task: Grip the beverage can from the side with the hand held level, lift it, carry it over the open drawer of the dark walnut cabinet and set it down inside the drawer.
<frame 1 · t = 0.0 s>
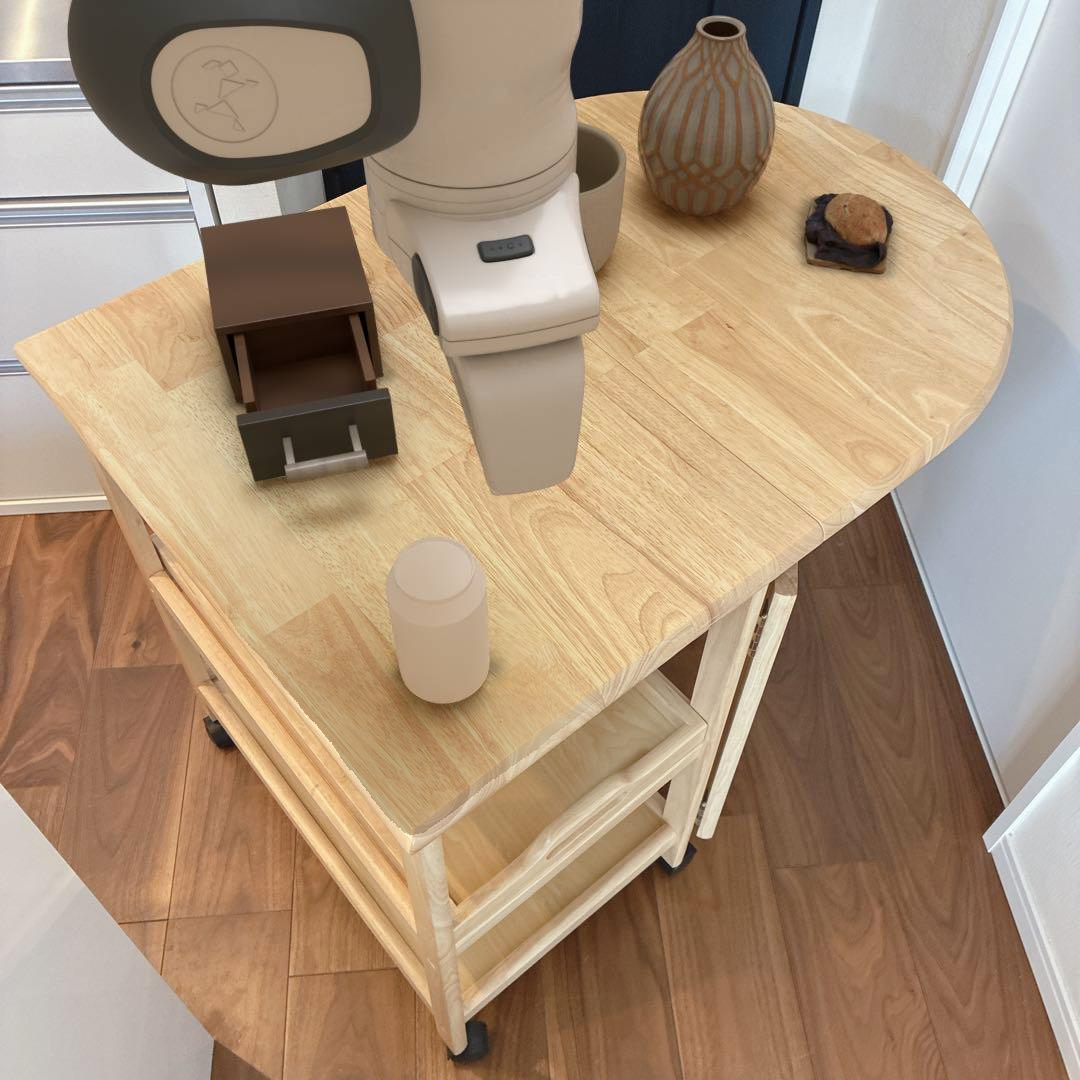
hand: (482, 418, 56), 23 cm above the table, tool pointing down, fingers open, 8 cm apart
planter: (553, 261, 102), on the table
bread roll: (845, 238, 104), on the table
drawer: (313, 403, 83), point 4 cm above the table, slide at 9.0 cm
beverage can: (445, 672, 73), on the table
cabinet: (299, 338, 94), on the table
vase: (696, 199, 108), on the table
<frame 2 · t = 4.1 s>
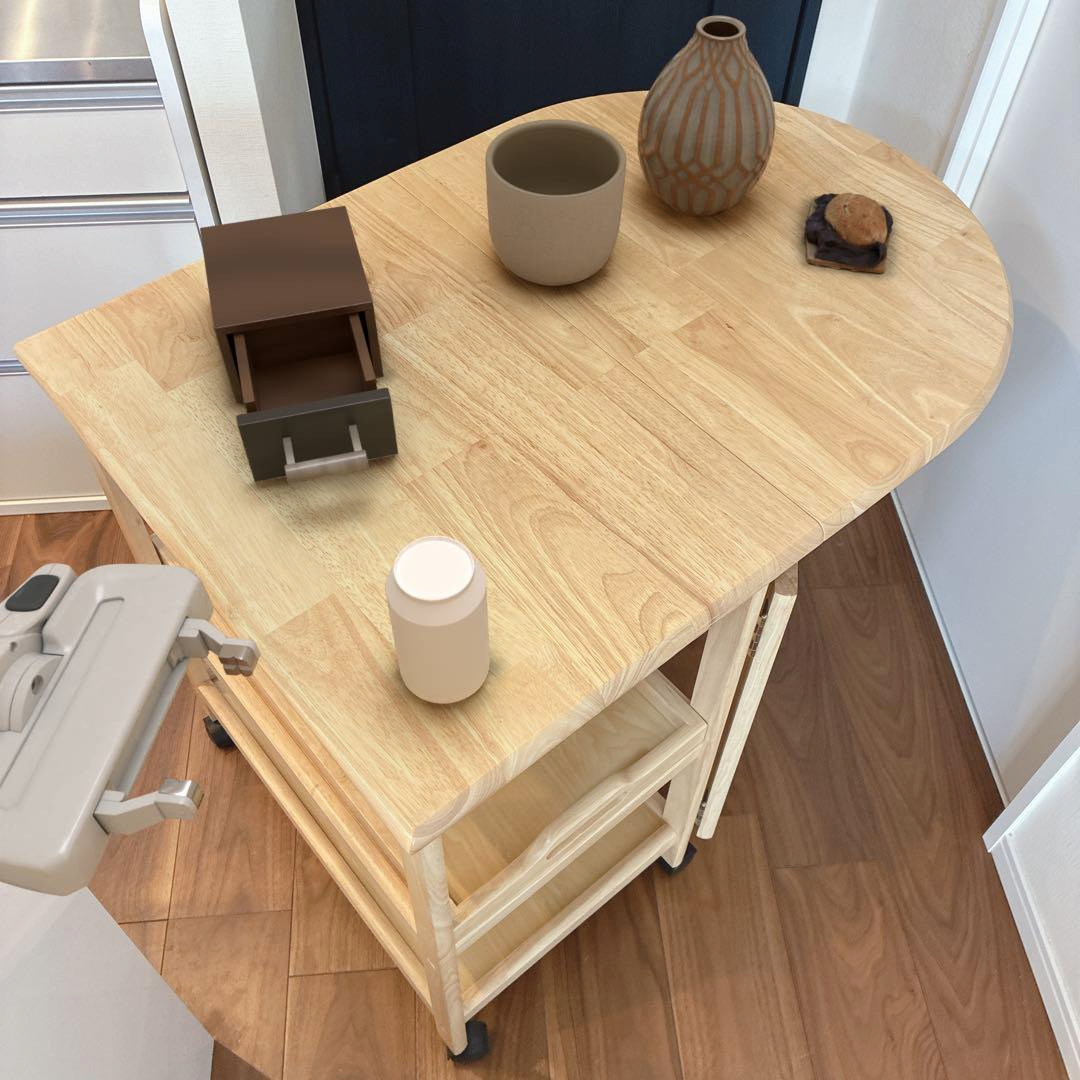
hand: (227, 725, 59), 10 cm above the table, tool horizontal, fingers open, 8 cm apart
nothing on the table moved.
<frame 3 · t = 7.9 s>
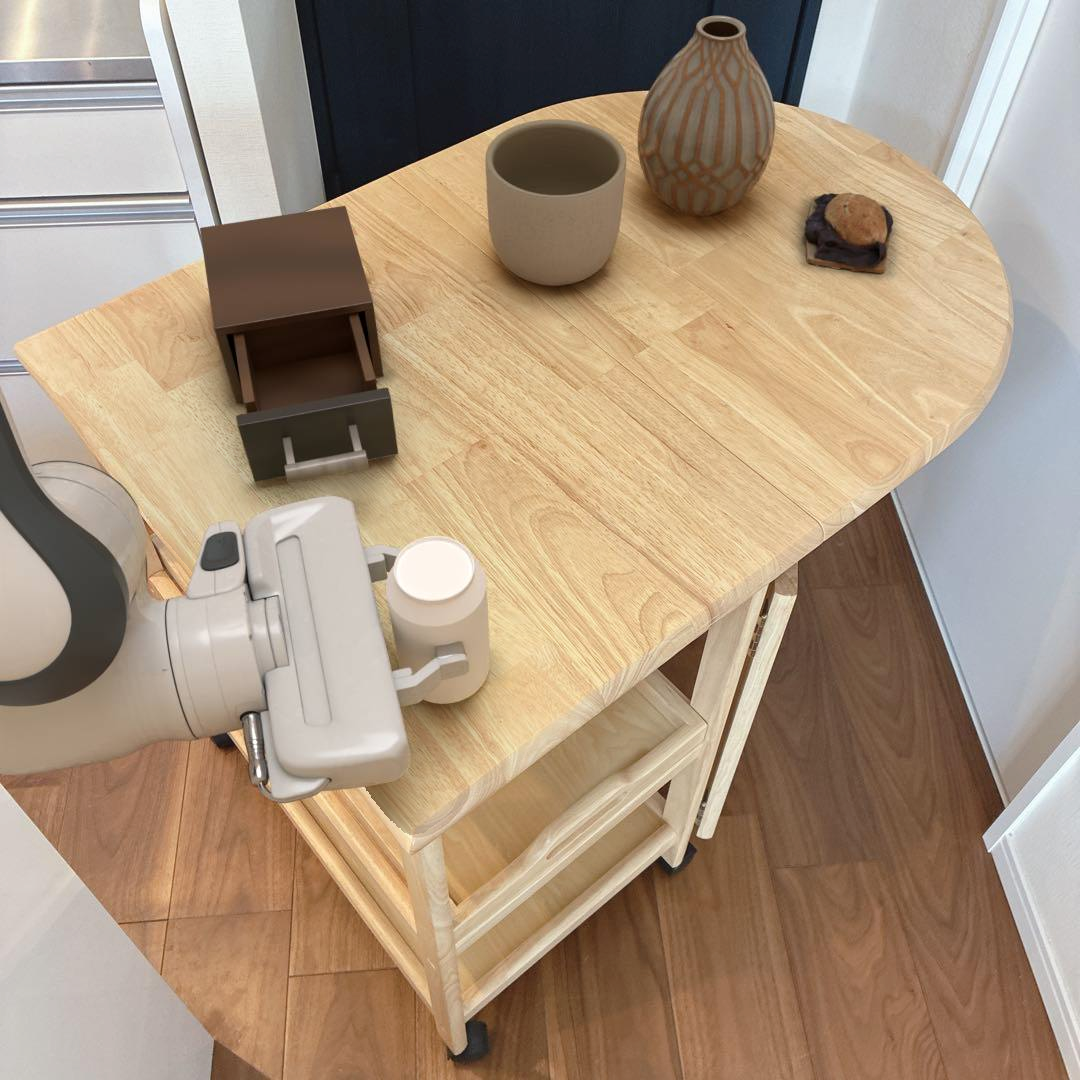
hand: (452, 608, 68), 7 cm above the table, tool horizontal, fingers closed on beverage can, 6 cm apart
beverage can: (446, 672, 73), on the table, touching gripper
everything else where it was.
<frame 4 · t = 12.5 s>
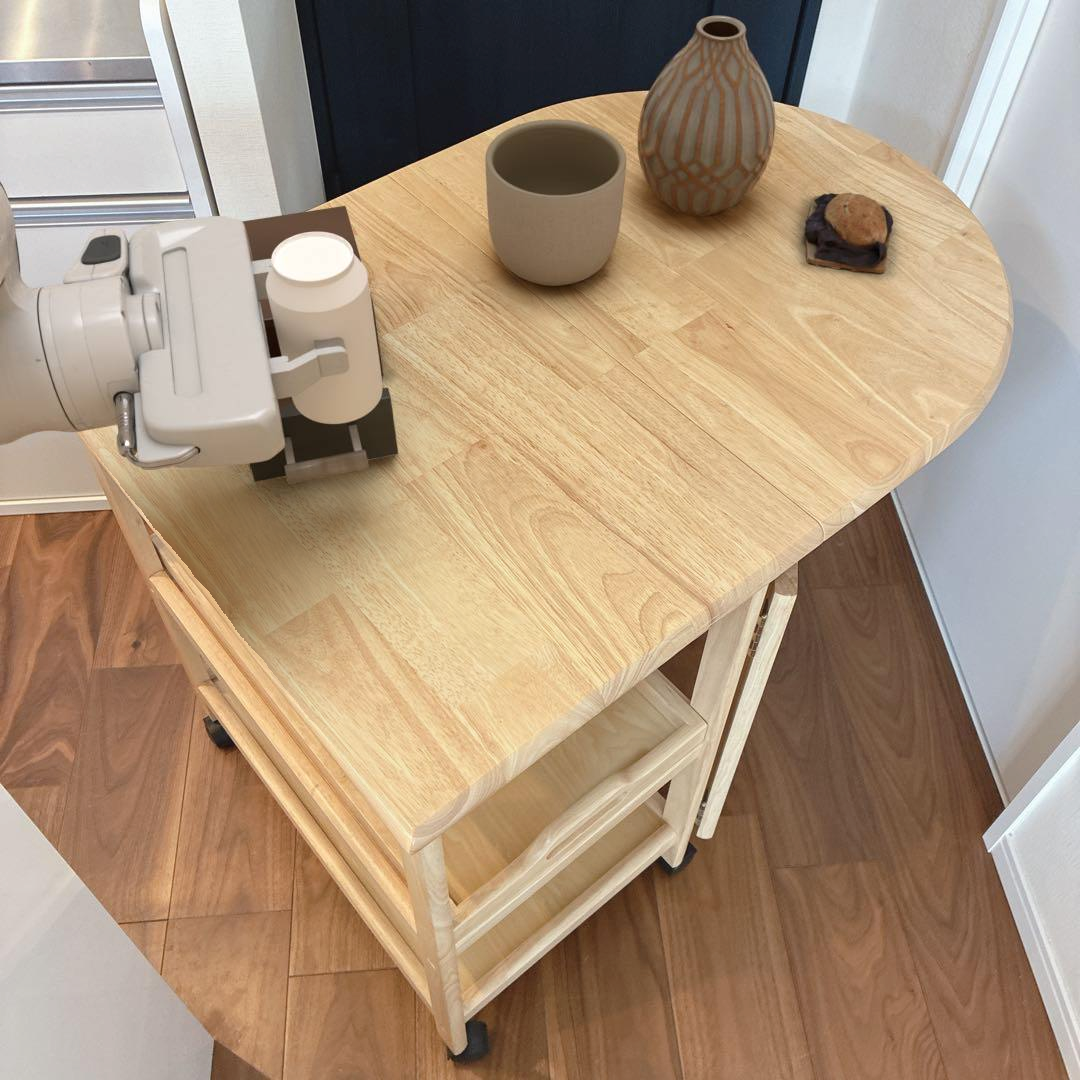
hand: (337, 315, 67), 19 cm above the table, tool horizontal, fingers closed on beverage can, 6 cm apart
beverage can: (339, 402, 73), point 11 cm above the table, touching gripper
everything else where it was.
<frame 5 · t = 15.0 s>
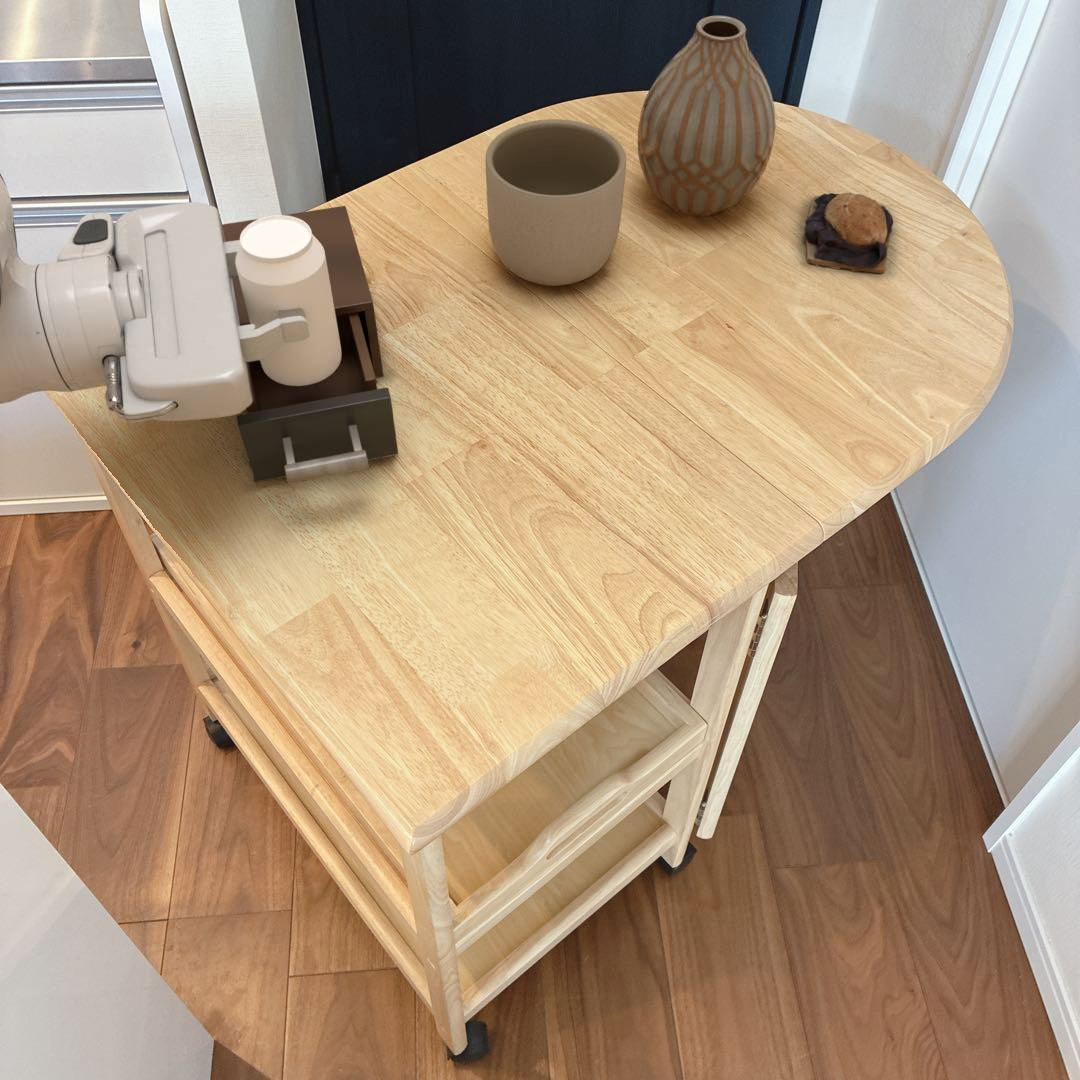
hand: (299, 289, 77), 14 cm above the table, tool horizontal, fingers closed on beverage can, 6 cm apart
beverage can: (303, 367, 82), point 7 cm above the table, touching gripper
everything else where it was.
when the fingers open (9 cm above the table, at t = 17.0 s): beverage can stays where it is, resting on drawer.
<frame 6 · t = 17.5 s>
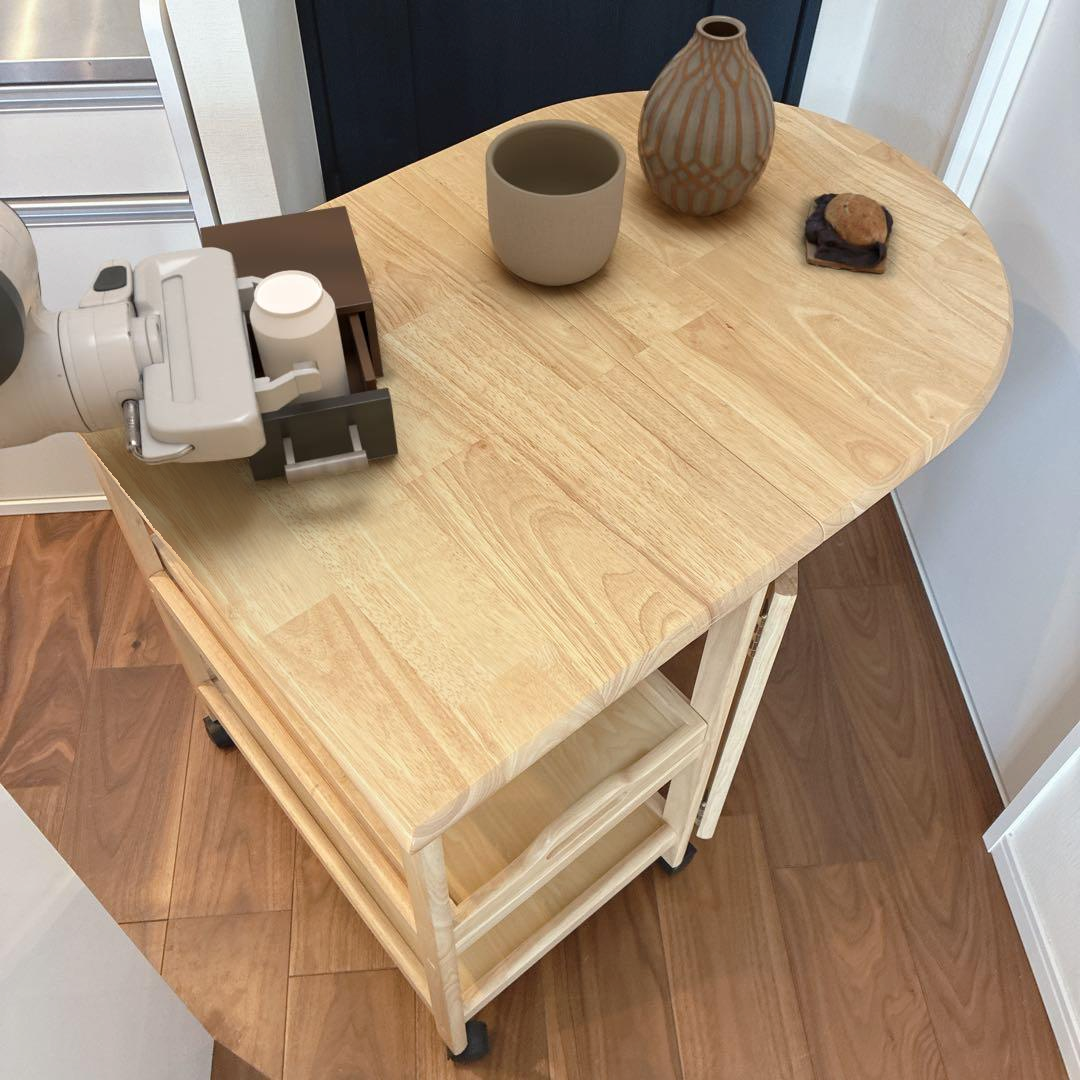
hand: (310, 332, 79), 10 cm above the table, tool horizontal, fingers open, 8 cm apart
drawer: (313, 403, 83), point 4 cm above the table, slide at 9.0 cm, touching beverage can
beverage can: (314, 411, 86), point 2 cm above the table, touching drawer
everything else where it was.
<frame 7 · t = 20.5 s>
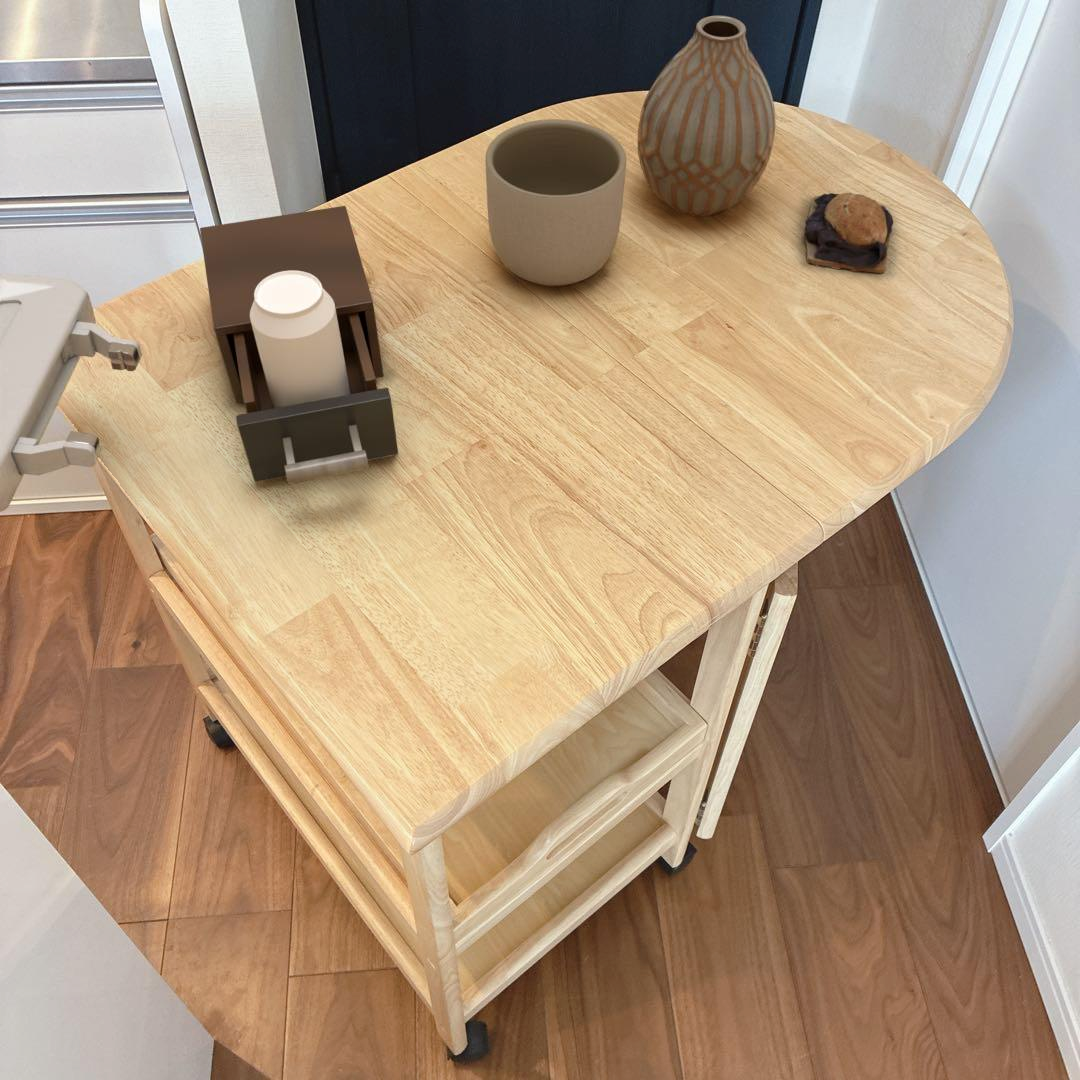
hand: (118, 401, 74), 11 cm above the table, tool horizontal, fingers open, 8 cm apart
nothing on the table moved.
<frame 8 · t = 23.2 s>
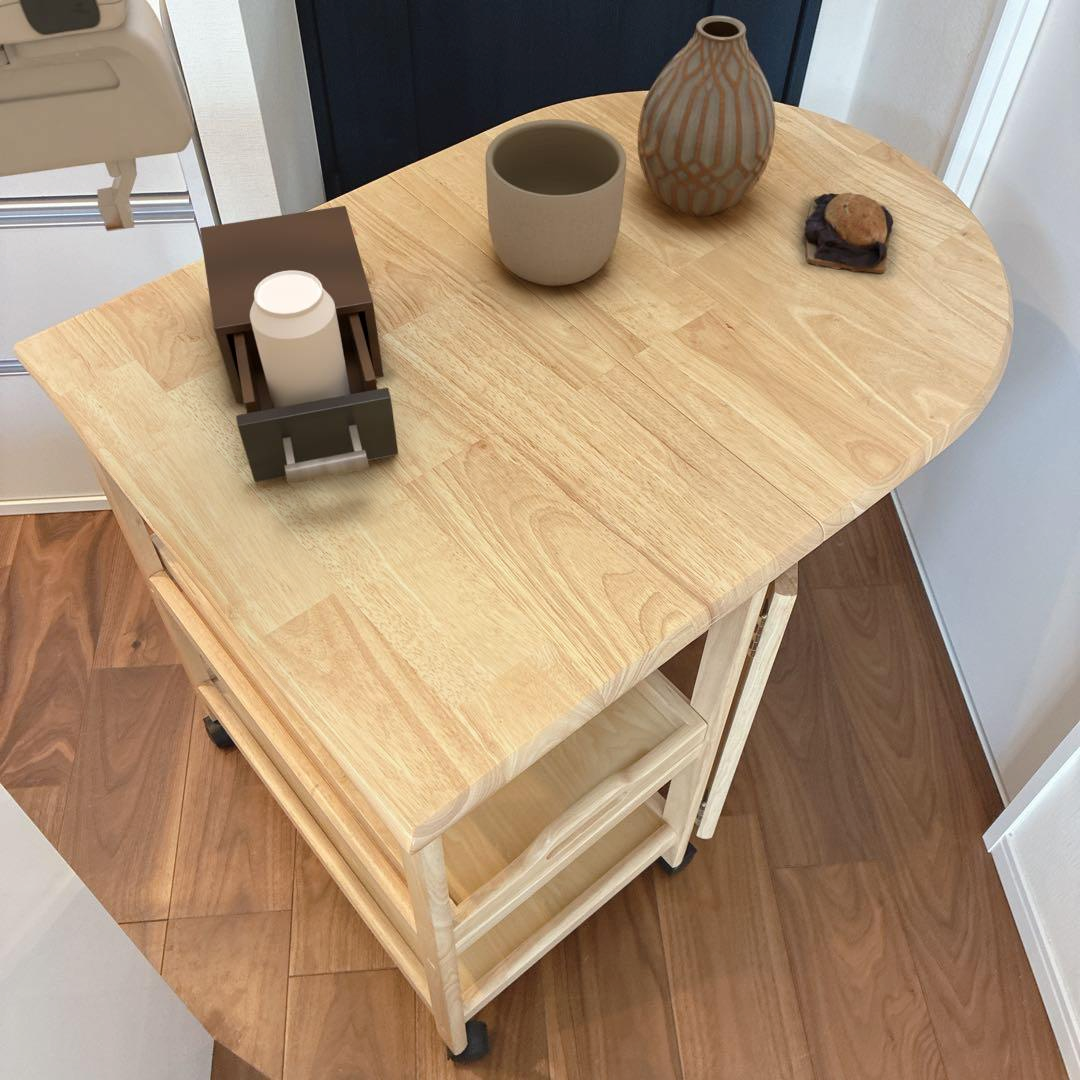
hand: (33, 237, 59), 27 cm above the table, tool pointing down, fingers open, 8 cm apart
nothing on the table moved.
at the end: beverage can inside the target area in the drawer (0.1 cm from its centre), point 1.8 cm above the cabinet's base; beverage can touching drawer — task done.
